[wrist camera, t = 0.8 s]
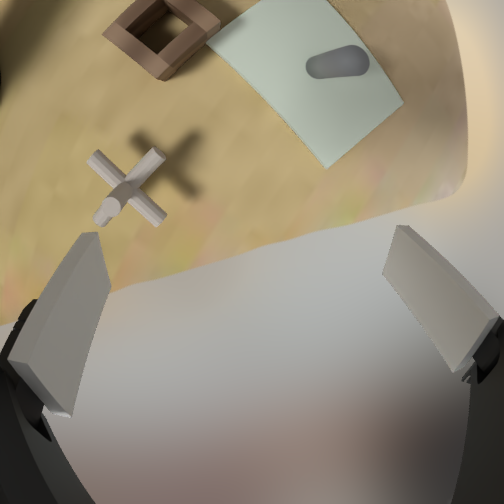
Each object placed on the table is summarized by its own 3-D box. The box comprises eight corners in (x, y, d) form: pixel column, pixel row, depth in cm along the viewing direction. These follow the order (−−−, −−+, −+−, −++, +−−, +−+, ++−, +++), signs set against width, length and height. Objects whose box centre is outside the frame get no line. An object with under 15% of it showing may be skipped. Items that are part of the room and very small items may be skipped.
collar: (117, 42, 22) (101, 34, 17) (170, -7, 20) (163, -23, 15) (165, 81, 25) (156, 78, 21) (219, 32, 23) (220, 21, 19)
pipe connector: (137, 115, 27) (106, 124, 18) (197, 174, 31) (191, 206, 23) (85, 177, 29) (45, 209, 21) (141, 229, 34) (121, 275, 25)
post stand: (205, 43, 24) (202, 20, 15) (299, -21, 20) (330, -55, 11) (323, 167, 33) (361, 195, 24) (399, 102, 29) (452, 113, 20)
